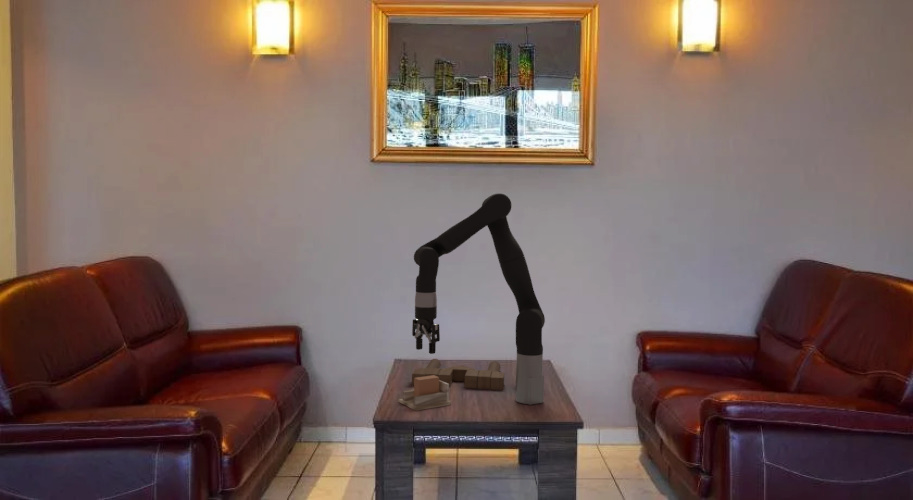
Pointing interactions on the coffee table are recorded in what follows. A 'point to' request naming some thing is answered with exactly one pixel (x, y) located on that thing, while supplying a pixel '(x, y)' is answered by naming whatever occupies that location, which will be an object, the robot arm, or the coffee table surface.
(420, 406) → the birch slot rack
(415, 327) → the robot arm
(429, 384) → the rust book
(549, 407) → the coffee table surface
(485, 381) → the brown segmented blocky figure
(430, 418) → the coffee table surface
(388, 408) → the coffee table surface
